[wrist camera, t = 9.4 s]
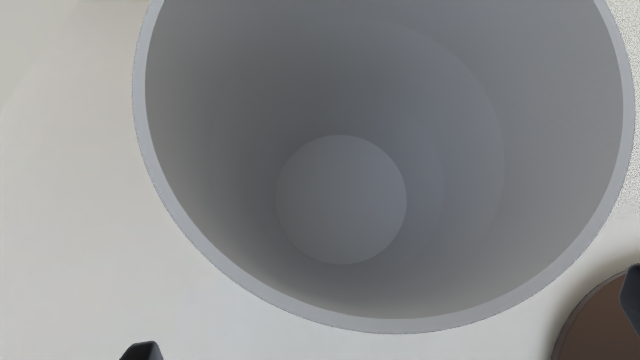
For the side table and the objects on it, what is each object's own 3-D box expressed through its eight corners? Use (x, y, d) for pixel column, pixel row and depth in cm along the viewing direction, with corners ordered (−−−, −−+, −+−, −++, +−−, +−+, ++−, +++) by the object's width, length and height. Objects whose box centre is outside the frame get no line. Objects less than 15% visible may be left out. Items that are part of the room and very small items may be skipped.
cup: (220, 309, 16) (97, 327, 7) (236, 89, 18) (160, -146, 9) (455, 315, 17) (671, 341, 7) (446, 97, 18) (605, -123, 9)
